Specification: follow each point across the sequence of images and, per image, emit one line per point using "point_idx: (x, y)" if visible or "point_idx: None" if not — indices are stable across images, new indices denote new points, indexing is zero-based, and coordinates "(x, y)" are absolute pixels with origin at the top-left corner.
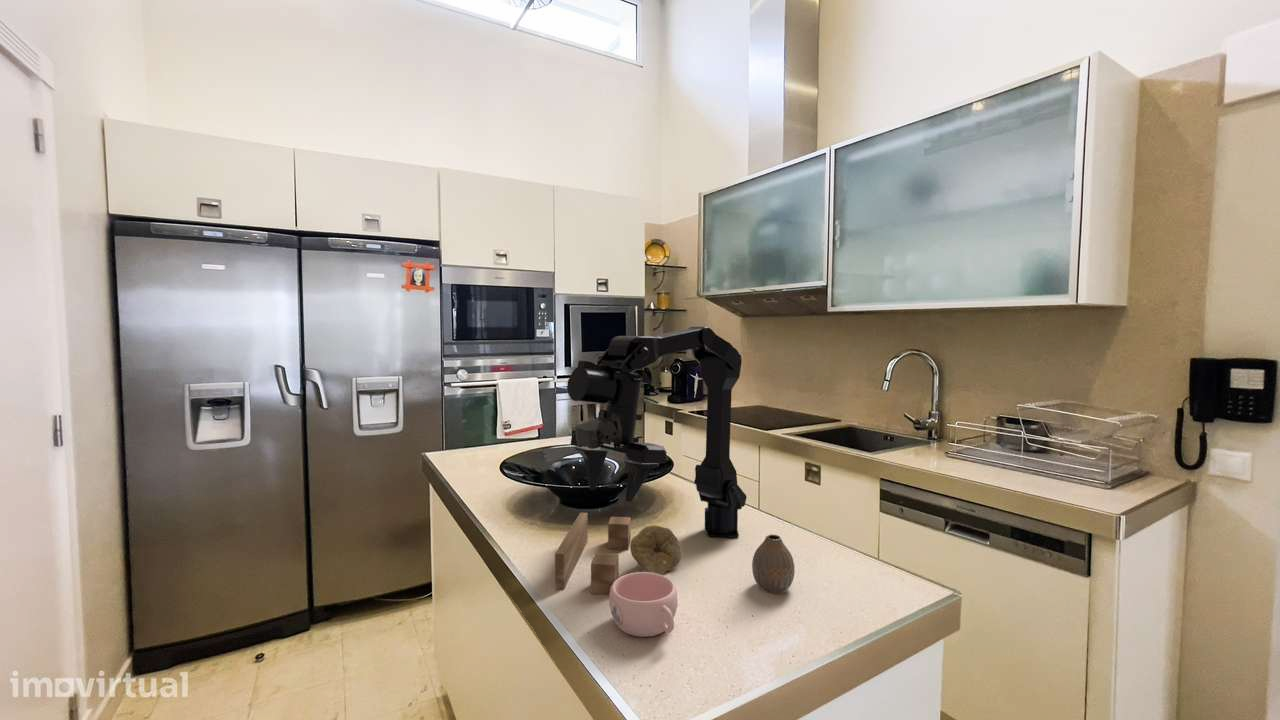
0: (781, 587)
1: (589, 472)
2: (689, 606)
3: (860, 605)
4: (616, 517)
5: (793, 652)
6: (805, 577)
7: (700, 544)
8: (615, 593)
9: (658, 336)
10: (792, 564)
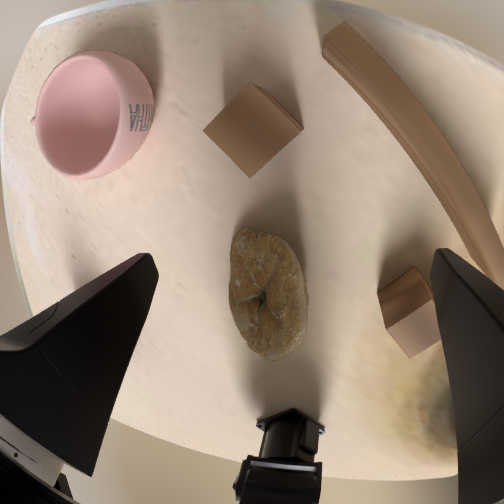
0: None
1: (492, 305)
2: (121, 210)
3: None
4: (438, 337)
5: (21, 227)
6: None
7: (283, 385)
8: (80, 54)
9: None
10: None
